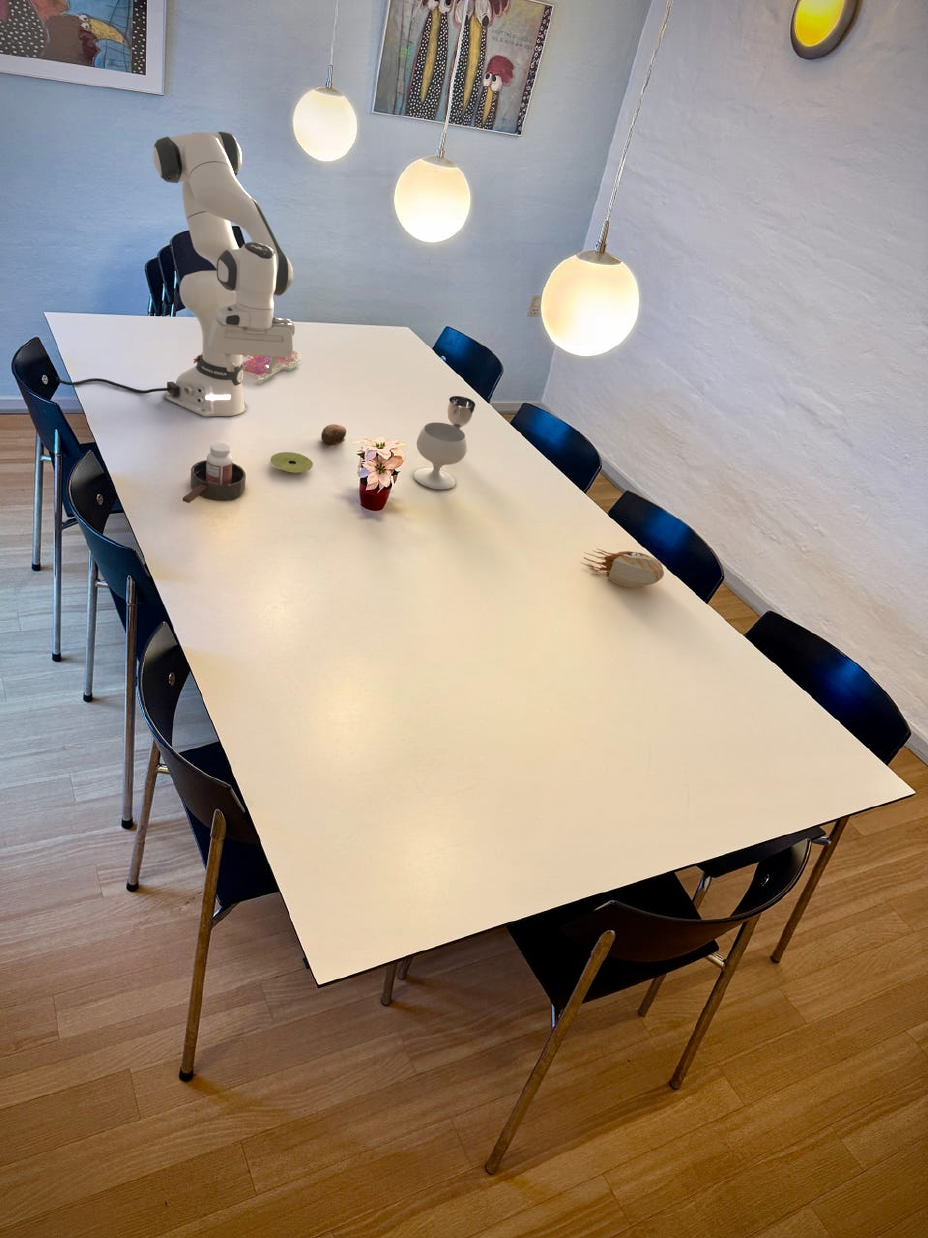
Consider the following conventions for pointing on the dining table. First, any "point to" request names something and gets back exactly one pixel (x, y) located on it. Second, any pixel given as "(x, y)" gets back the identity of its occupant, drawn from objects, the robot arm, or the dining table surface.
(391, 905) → the dining table surface
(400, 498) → the dining table surface
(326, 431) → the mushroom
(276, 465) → the green disc
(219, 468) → the pill bottle
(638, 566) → the nautilus
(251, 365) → the pink mottled wavy slab
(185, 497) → the pan handle
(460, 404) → the wine glass
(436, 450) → the chalice
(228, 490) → the pan
